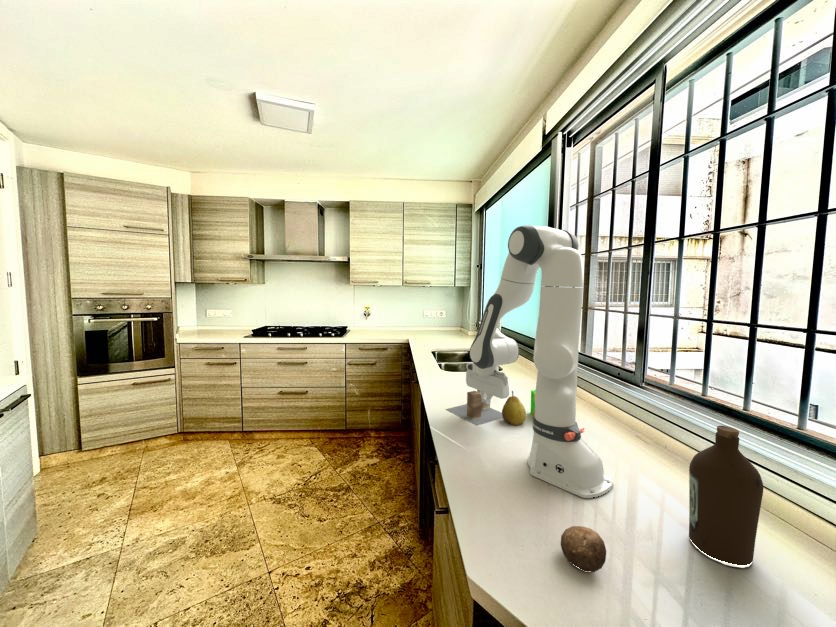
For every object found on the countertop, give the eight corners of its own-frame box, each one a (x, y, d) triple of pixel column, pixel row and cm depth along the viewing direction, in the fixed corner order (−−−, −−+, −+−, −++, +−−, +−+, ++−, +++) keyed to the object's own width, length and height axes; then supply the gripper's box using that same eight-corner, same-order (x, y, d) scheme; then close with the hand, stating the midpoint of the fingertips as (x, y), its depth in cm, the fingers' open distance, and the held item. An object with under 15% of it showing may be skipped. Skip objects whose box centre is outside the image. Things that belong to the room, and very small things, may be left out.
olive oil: (753, 547, 66) (763, 427, 64) (760, 583, 58) (772, 447, 56) (685, 522, 73) (692, 414, 71) (683, 551, 65) (691, 429, 63)
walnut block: (481, 417, 132) (481, 393, 131) (473, 419, 130) (473, 394, 129) (474, 414, 135) (474, 390, 134) (466, 416, 133) (467, 392, 132)
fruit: (521, 429, 122) (522, 398, 121) (498, 423, 127) (498, 393, 126) (529, 422, 128) (529, 392, 128) (506, 416, 134) (507, 388, 133)
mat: (509, 416, 134) (509, 415, 133) (476, 426, 124) (476, 425, 124) (476, 402, 150) (476, 401, 150) (444, 410, 141) (444, 409, 141)
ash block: (490, 408, 141) (490, 386, 141) (483, 410, 139) (483, 387, 139) (483, 406, 145) (483, 384, 144) (476, 407, 143) (477, 385, 142)
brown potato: (597, 528, 67) (589, 512, 64) (620, 574, 59) (611, 558, 57) (560, 541, 68) (550, 526, 66) (578, 586, 61) (568, 571, 58)
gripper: (513, 372, 118) (512, 409, 119) (475, 362, 135) (474, 394, 136) (501, 375, 115) (500, 413, 116) (463, 363, 132) (463, 397, 133)
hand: (486, 403), depth 126 cm, fingers closed
